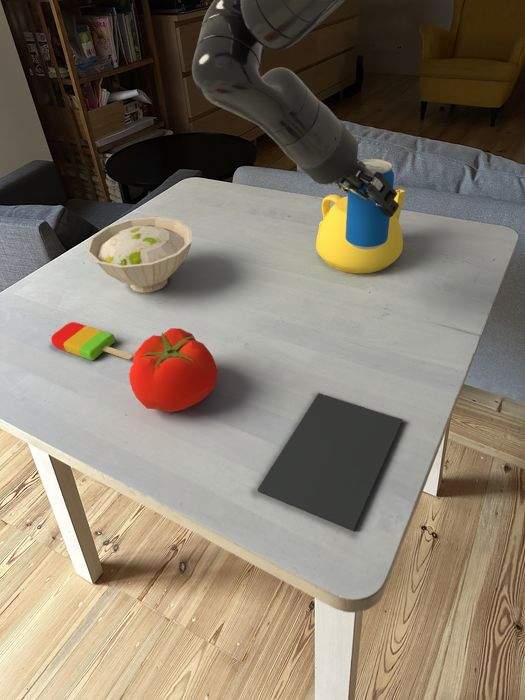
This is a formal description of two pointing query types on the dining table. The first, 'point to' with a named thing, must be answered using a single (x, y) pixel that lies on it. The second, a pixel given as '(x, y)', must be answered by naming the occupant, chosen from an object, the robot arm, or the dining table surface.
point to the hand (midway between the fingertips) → (376, 203)
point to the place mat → (332, 460)
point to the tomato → (172, 371)
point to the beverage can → (368, 213)
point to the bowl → (141, 251)
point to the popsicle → (85, 341)
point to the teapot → (347, 256)
